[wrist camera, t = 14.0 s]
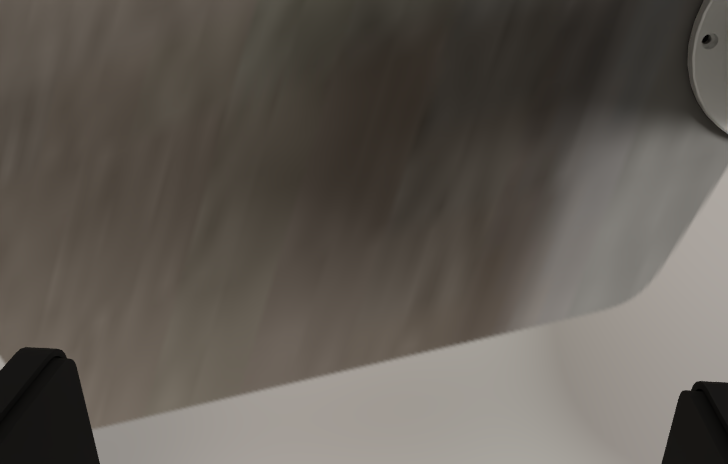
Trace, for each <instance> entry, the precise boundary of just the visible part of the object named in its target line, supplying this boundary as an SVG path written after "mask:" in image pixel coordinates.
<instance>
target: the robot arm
mask: <svg viewBox="0 0 728 464" xmlns="http://www.w3.org/2000/svg"><path fill="white" fill-rule="evenodd" d="M707 34H708V40H707V41H706V42H703V43H702V39H703V37H704V36H706V35H707ZM687 65H688V72H689V79H690V85H691V87H692V90H693V92H694V95H695V98H696V100H697V102H698V104H699V105H700V106H701V108H702V109H703V111H704V112H705V114H706V115H707V117H708V118H710V119H711V120H712V121H713V122H714V123H715V124H716V125H717V126H718V127H719V128H721V129H722V130H723V131H724V132H726V133H727V134H728V0H704V1H703V3H702V5H701V8H700V10H699V12H698V14H697V16H696V19H695V21H694V24H693V28H692V32H691V36H690V40H689V45H688V62H687ZM0 464H100V463H99V459H98V454H97V450H96V446H95V442H94V437H93V433H92V429H91V425H90V421H89V417H88V412H87V408H86V404H85V400H84V396H83V392H82V387H81V383H80V379H79V375H78V371H77V367H76V364H75V362H74V361H73V360H72V359H67V357H66V355H65V353H64V352H63V351H62V350H60V349H50V348H31V347H25V348H22V349H20V350H19V351H18V352H16V354H15V355H14V356H13V357H12V358H11V359H10V360H9V361H8V363H7V364H6V365H5V366H4V367H3V369H1V370H0ZM662 464H728V383H725V382H724V383H723V382H705V381H699V382H696V383H695V384H694V385H693V387H692V389H691V391H687V390H685V391H682V392H681V394H680V396H679V399H678V403H677V407H676V411H675V414H674V418H673V422H672V426H671V430H670V433H669V437H668V441H667V445H666V449H665V453H664V457H663V460H662Z"/></svg>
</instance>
